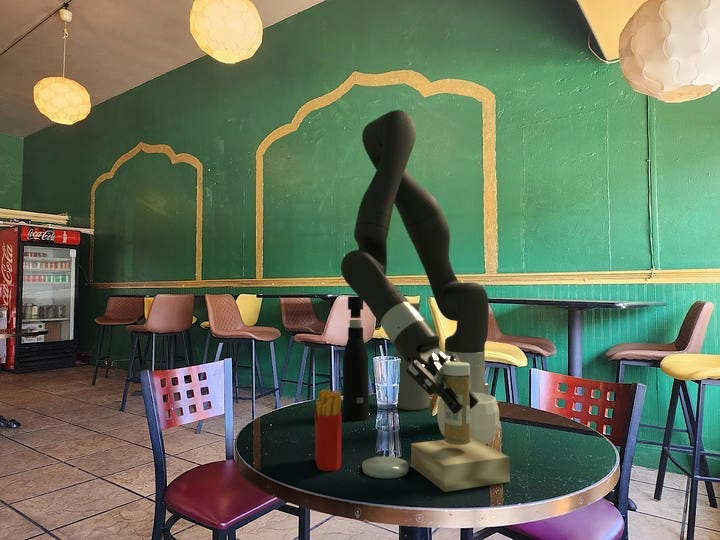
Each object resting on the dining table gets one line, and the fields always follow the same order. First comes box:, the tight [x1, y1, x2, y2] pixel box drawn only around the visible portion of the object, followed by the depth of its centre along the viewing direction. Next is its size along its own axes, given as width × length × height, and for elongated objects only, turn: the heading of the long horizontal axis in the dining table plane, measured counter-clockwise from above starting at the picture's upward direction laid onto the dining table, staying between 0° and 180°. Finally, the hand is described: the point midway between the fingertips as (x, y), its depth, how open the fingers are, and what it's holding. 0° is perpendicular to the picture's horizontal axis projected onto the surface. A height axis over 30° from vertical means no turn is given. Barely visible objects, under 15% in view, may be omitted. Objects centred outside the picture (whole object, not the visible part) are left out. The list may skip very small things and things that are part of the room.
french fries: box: [314, 389, 343, 472], centre depth 89 cm, size 9×4×13 cm, turn 13°
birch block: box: [410, 437, 511, 493], centre depth 84 cm, size 12×12×4 cm
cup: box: [436, 392, 500, 445], centre depth 100 cm, size 12×12×10 cm
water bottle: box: [392, 302, 431, 411], centre depth 135 cm, size 10×10×28 cm
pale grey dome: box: [361, 456, 409, 479], centre depth 86 cm, size 8×8×1 cm
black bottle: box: [342, 296, 370, 422], centre depth 123 cm, size 6×6×30 cm
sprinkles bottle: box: [443, 362, 470, 445], centre depth 85 cm, size 5×5×14 cm
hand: (466, 407), depth 84 cm, fingers closed on sprinkles bottle, 4 cm apart
